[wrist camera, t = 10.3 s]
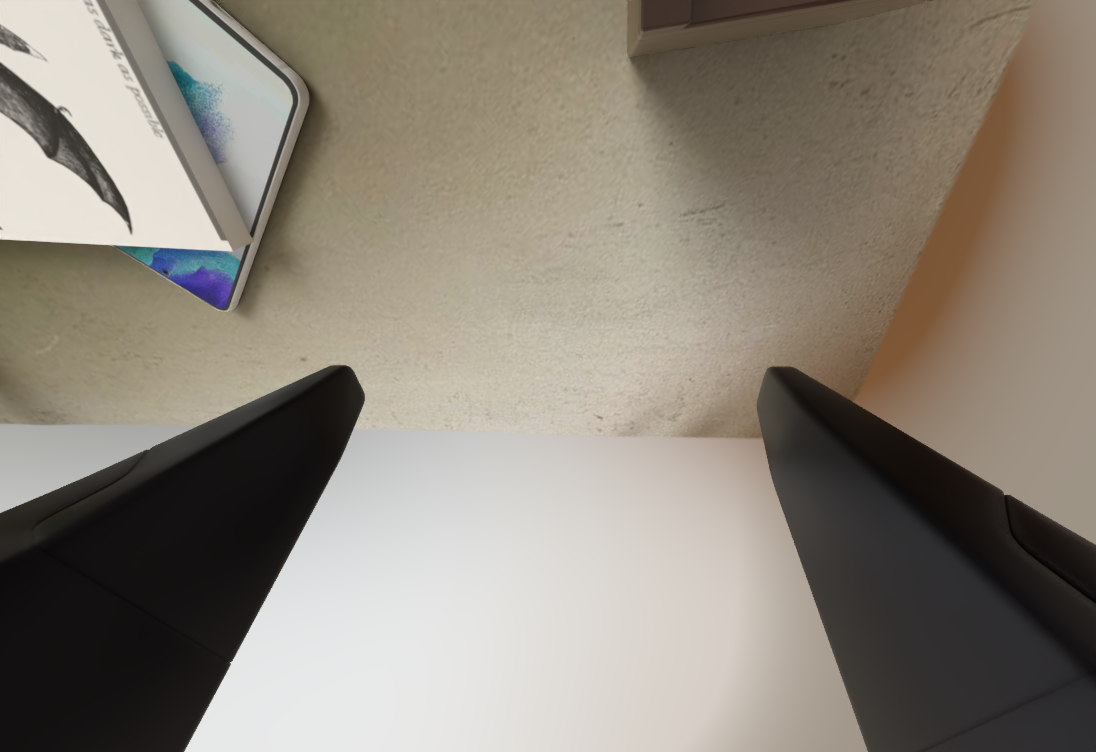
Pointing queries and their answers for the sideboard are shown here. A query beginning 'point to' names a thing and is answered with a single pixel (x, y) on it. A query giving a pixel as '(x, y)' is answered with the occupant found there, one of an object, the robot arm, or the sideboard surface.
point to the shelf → (736, 19)
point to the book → (102, 135)
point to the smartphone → (226, 133)
